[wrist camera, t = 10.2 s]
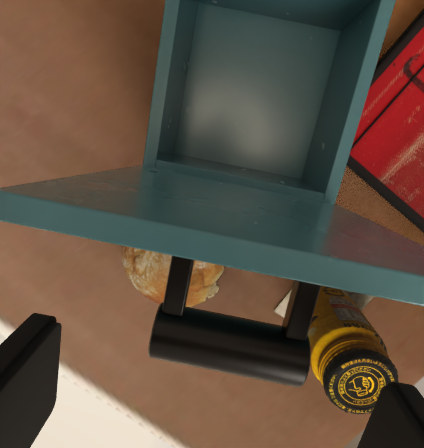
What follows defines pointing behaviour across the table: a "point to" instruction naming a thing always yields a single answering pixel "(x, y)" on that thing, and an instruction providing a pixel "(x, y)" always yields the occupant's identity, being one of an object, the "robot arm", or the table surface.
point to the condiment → (346, 350)
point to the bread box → (264, 90)
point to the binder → (395, 127)
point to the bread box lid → (227, 256)
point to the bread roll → (158, 274)
